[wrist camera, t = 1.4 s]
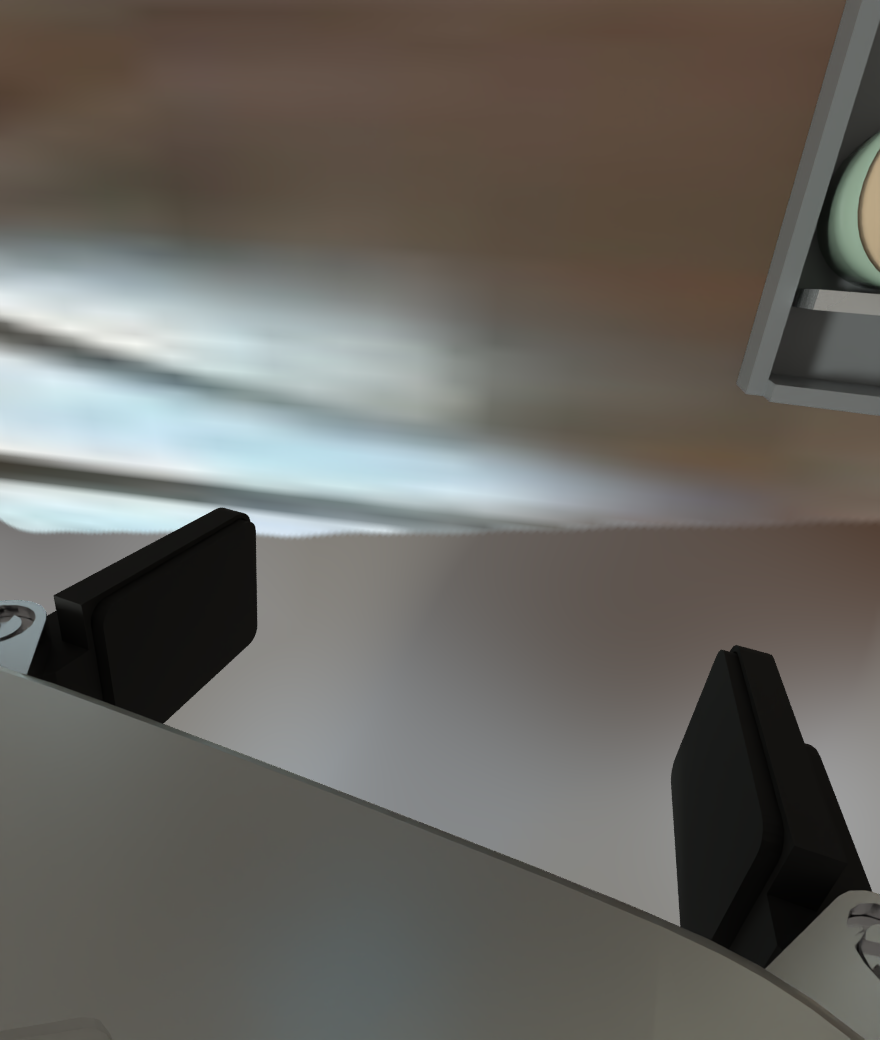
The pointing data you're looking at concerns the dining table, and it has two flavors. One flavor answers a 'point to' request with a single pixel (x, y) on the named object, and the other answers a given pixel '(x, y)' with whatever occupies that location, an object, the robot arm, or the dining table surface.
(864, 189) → the sage jar
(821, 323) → the tray
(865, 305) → the spring pusher
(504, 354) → the dining table surface
